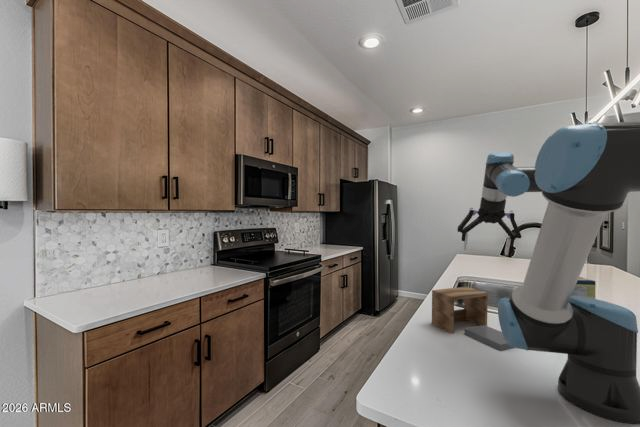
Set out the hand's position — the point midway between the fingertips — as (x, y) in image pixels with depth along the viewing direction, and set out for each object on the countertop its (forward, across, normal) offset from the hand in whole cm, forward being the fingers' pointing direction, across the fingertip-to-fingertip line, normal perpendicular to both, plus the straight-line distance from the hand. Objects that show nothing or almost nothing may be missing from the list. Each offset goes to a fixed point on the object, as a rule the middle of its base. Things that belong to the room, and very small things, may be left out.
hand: (484, 250), depth 111 cm
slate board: (+24, -4, +20) cm, 31 cm away
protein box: (+42, -41, -29) cm, 65 cm away
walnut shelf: (+28, +6, +11) cm, 31 cm away
